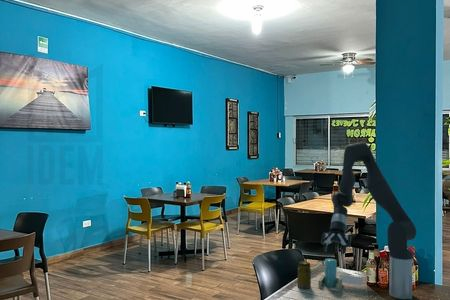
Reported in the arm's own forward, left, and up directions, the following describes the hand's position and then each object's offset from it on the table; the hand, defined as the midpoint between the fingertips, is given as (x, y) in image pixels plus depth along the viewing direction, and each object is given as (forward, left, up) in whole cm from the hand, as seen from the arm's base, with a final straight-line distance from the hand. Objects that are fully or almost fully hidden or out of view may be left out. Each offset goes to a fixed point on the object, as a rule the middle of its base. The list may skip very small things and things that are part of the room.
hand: (334, 252), depth 195 cm
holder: (0, +9, -14) cm, 17 cm away
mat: (-7, -4, -14) cm, 16 cm away
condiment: (+10, +16, -14) cm, 24 cm away
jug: (0, +10, -14) cm, 17 cm away
